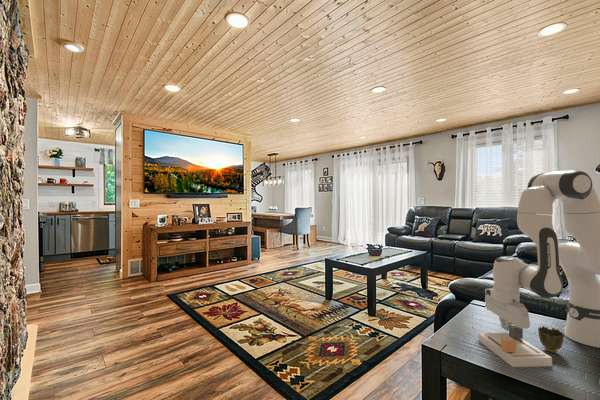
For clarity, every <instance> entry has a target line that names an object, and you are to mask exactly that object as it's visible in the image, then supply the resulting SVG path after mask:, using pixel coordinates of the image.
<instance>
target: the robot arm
mask: <svg viewBox="0 0 600 400" xmlns="http://www.w3.org/2000/svg"><path fill="white" fill-rule="evenodd" d="M558 199H560V200H561V201H562V211H563V219H564V221H563V222H564V227H565V230H566V232H567V233H568V234H569V235H570V236H572V237H573V238H574V239H575V241H577V242H574V241H571V242H565V241H564V242H559V241H558V235H557V233H556V232H555V229H554V224H553V211H554V210H553V209H554V207H553V204H554V202H555V201H556V200H558ZM516 214H517V215H516V223H517V227H518V229H519V230H520V231H521V232H522V233H523V234H524V235H526V236H527V237H528V238H529V239H531V240H532V242H533V243H534V244H535V246H536V250H537V251H536V252H537V267H536V266H535V265H531V264H528V263H525V262H523V261H521V260H519V259H518V258H517V257H514V256H511V255H508V256H507V255H504V256H499V257H497V258H496V259H495V260H494V263H493V268H492V278H493V285H492V288H485V289H484V294H485V295H484V296H485V297H484V304H485V308H486V310H487V311H490V312H491V313H493V314H494V315H496V316H498V319H499V321H500V325H501V326H500V327H501V328H502V329H504V330H505V331H507V332H509V326H517V327H518V328H520V329H523V330H525V329H529V328H530V326H531V324H530V323H531V322H530V321H531V320H530V314H529V310H528V308H527V307H526V306H525V304H524V303H522V302H520V289H521V288H522V289H523V288H524V289H526V290H528V291H530V292H532V293H534V294H535V295H537V296H539V297H540V298H543V299H552V298H555V297H557V296H559V295H560V294H561V292H562V291H563V289H564V282H563V281H564V280H563V278H562V275H561V272H560V267H561V268H562V270H563V272H564V274H565V276H566V279H567V283H568V295H569V297H568V301H567V315H566V322H565V325H564V326H563V327H564V328H563V330H564V331H563V333H564V337H567V338H568V339H570V340H571V341H574V342H577V343H579V344H582V345H585V346H590V347H593V348H598V349H599V348H600V280H599V279H598V278H597V275H598V276H600V199H599V195H598V193H597V191H596V189H595V188H594V187H593V181H592V178H591V176H590V175H589V174H588V173H586V172H584V171H583V170H582V171H581V170H575V169H574V170H573V169H571V170H556V171H551V172H546V173H544V172H542V173H539V174H535V175H534V176H533V177H531V178H530V180H529V181H528V183H527V187H526V188H525V189H523V191H522V192H521V194H520V197H519V201H518V205H517V213H516Z"/></svg>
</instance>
